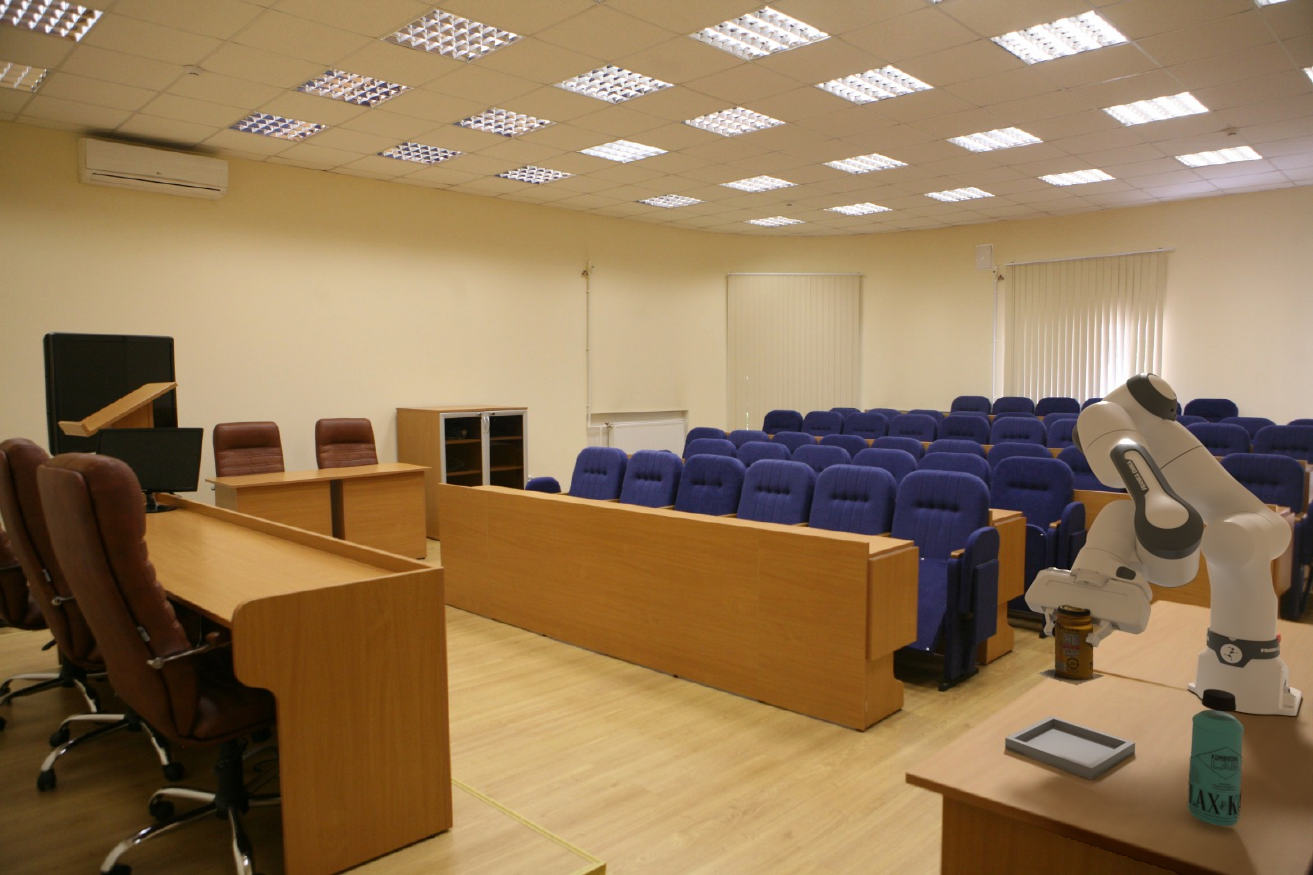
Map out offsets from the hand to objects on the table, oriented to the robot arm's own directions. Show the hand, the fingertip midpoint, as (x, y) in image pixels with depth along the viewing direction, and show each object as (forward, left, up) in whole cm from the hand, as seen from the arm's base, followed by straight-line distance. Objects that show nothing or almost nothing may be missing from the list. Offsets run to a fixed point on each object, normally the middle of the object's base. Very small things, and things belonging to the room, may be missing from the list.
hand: (1069, 639), depth 145 cm
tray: (-1, 0, -20) cm, 20 cm away
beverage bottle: (+7, +25, -20) cm, 33 cm away
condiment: (-1, 0, -7) cm, 7 cm away
